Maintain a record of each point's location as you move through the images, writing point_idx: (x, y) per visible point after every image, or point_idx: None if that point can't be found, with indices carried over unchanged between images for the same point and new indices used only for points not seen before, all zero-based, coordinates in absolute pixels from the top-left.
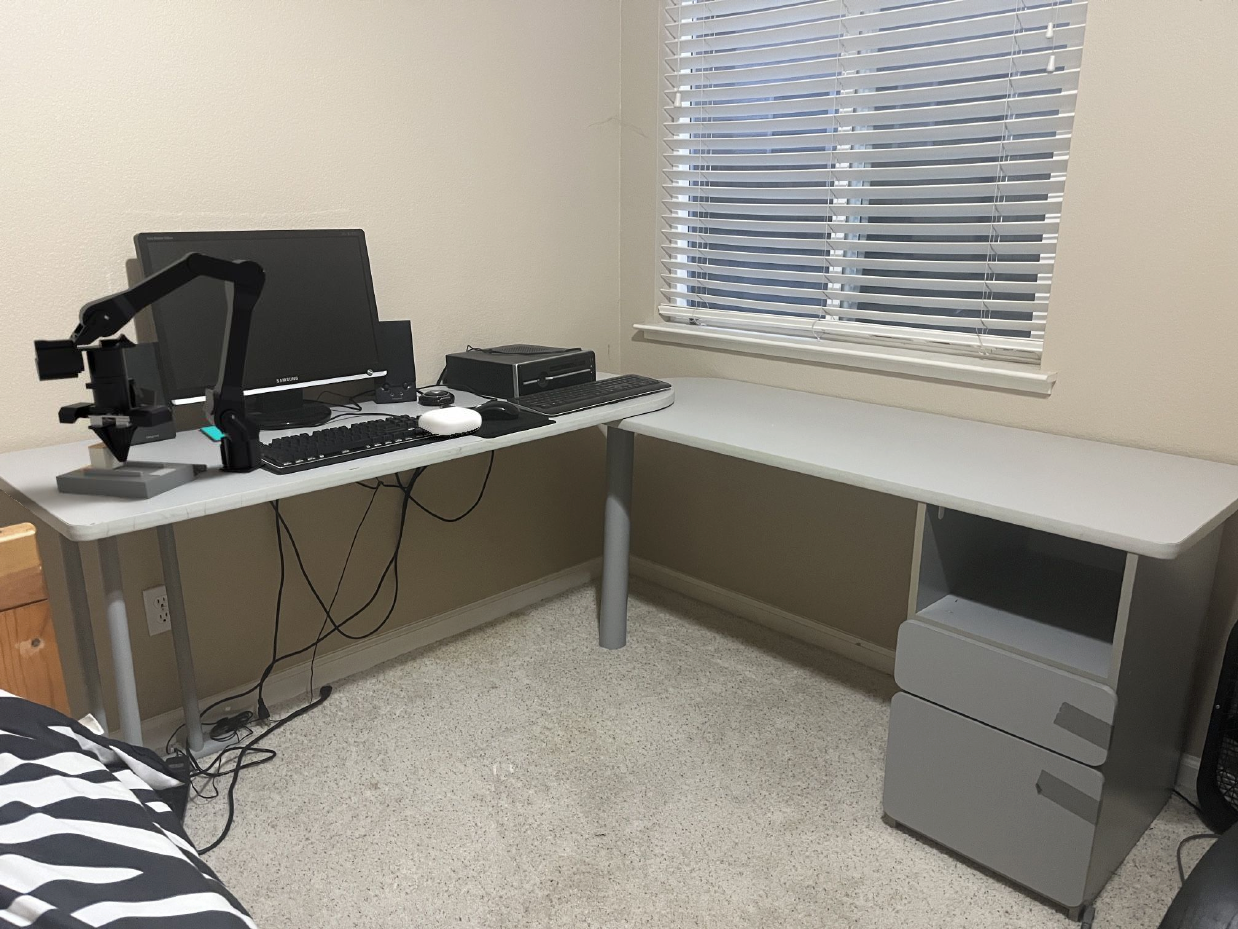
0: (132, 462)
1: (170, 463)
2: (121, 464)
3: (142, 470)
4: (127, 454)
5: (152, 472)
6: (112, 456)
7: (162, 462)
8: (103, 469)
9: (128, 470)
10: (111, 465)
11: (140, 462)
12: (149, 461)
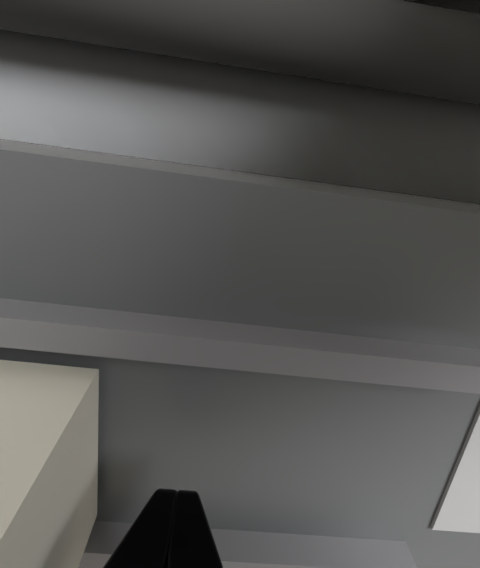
0: (173, 362)
1: (474, 243)
2: (96, 393)
3: (334, 446)
4: (213, 549)
5: (431, 478)
6: (55, 547)
7: (381, 213)
8: (99, 562)
9: (224, 451)
10: (89, 498)
11: (258, 370)
12: (226, 180)
